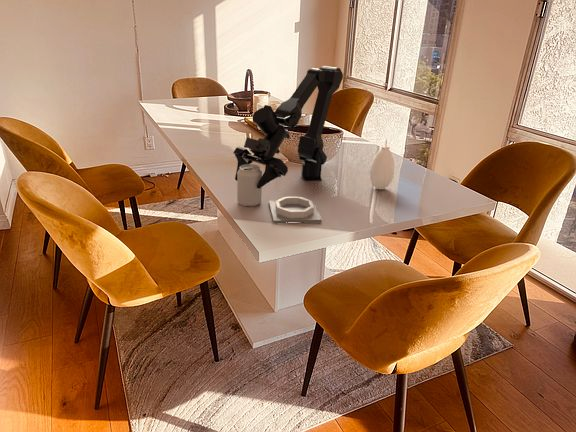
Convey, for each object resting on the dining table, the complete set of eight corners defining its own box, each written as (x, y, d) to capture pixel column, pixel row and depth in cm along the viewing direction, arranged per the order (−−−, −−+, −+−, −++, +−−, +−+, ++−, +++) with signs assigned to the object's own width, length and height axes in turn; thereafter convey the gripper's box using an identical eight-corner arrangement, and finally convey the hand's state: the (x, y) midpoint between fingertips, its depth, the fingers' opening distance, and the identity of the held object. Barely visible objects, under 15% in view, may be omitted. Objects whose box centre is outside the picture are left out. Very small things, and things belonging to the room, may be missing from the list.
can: (232, 204, 139) (232, 167, 134) (245, 196, 145) (245, 161, 140) (253, 209, 136) (253, 172, 131) (265, 201, 142) (266, 165, 137)
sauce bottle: (381, 183, 161) (388, 134, 153) (395, 191, 155) (403, 140, 147) (363, 186, 157) (370, 136, 150) (377, 194, 151) (385, 143, 143)
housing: (312, 203, 142) (313, 194, 141) (321, 222, 130) (322, 213, 129) (268, 203, 140) (269, 195, 139) (273, 223, 128) (274, 214, 127)
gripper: (237, 121, 138) (211, 163, 135) (283, 133, 128) (256, 179, 125) (254, 141, 147) (230, 180, 144) (298, 154, 137) (274, 197, 134)
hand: (246, 183), depth 137 cm, fingers open, 9 cm apart
